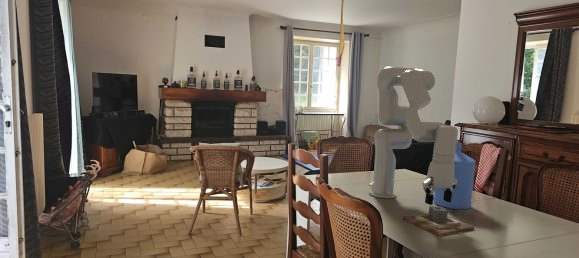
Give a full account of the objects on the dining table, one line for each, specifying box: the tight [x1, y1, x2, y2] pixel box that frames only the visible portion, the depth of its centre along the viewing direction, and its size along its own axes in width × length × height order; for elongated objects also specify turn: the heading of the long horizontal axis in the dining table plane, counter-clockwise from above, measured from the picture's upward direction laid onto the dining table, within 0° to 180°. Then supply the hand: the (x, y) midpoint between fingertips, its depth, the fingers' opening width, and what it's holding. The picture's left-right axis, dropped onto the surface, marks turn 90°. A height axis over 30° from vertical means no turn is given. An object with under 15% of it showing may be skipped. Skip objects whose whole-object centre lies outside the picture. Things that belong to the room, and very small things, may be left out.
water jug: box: [433, 141, 476, 211], centre depth 170 cm, size 16×16×28 cm
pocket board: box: [402, 212, 475, 237], centre depth 145 cm, size 18×18×2 cm
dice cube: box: [428, 205, 449, 224], centre depth 145 cm, size 5×5×5 cm
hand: (438, 202), depth 145 cm, fingers open, 9 cm apart
